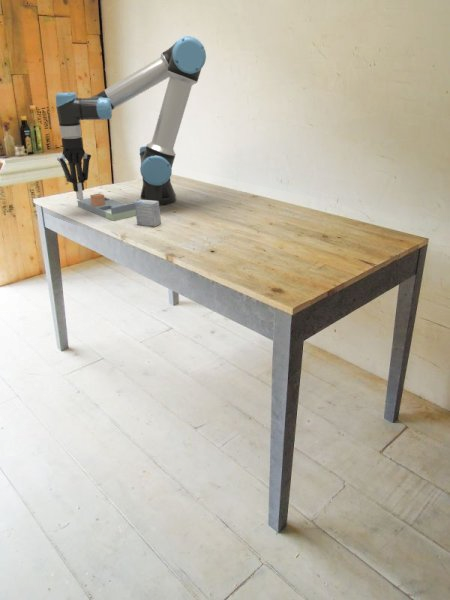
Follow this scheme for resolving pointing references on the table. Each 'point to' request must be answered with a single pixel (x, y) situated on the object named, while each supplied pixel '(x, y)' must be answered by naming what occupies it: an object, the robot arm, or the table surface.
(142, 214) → the medicine box
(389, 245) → the table surface
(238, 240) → the table surface
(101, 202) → the block
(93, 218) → the table surface
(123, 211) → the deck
